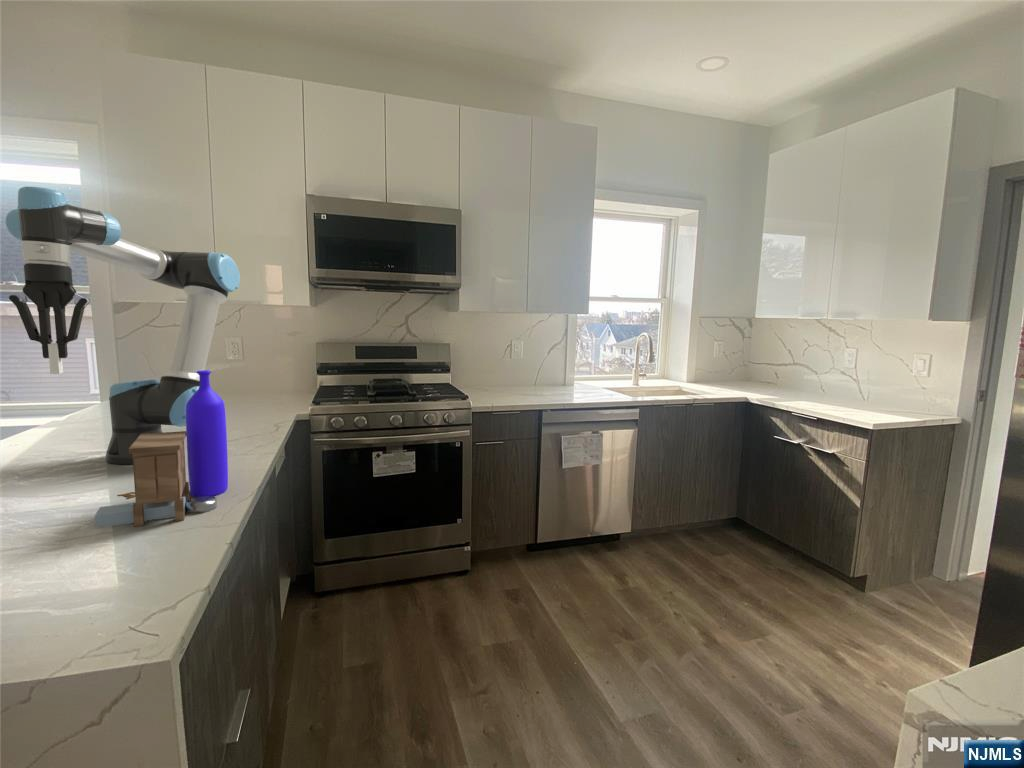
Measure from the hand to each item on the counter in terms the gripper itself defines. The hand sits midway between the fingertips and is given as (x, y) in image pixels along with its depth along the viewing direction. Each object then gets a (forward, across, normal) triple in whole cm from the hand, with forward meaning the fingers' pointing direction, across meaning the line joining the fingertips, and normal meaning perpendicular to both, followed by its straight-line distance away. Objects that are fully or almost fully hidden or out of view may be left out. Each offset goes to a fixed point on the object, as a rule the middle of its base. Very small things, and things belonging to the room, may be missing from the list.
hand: (56, 373), depth 109 cm
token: (+30, +27, -16) cm, 43 cm away
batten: (+30, +16, -17) cm, 38 cm away
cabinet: (+29, +20, -16) cm, 39 cm away
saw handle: (+30, +21, +3) cm, 37 cm away
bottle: (+30, +28, -5) cm, 41 cm away
